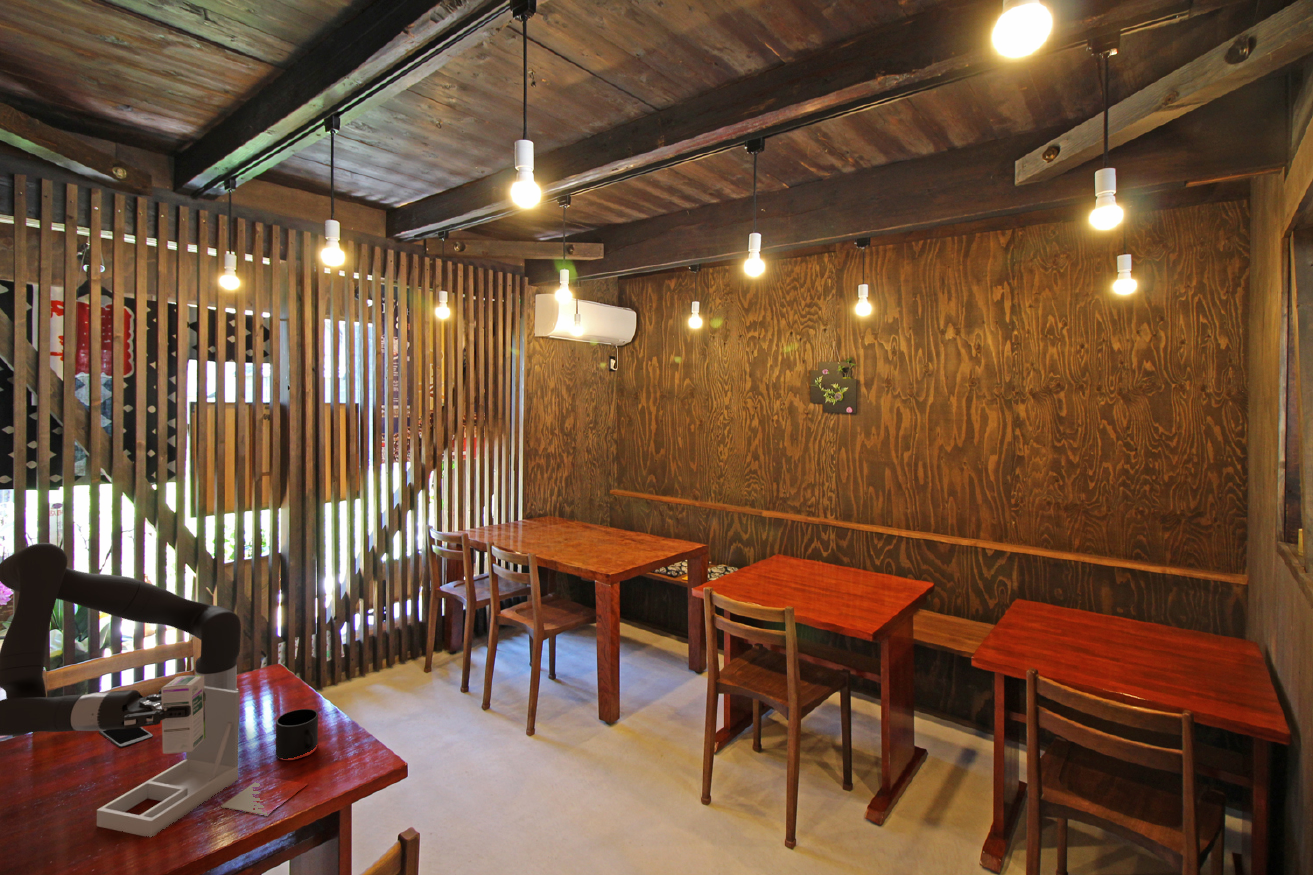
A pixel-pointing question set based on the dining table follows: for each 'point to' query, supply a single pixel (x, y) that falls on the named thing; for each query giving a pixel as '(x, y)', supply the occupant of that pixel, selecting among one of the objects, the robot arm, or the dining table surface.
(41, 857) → the dining table surface
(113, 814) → the white l-shaped holder
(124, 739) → the smartphone
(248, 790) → the rubber mat
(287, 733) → the mug
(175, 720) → the syrup box
